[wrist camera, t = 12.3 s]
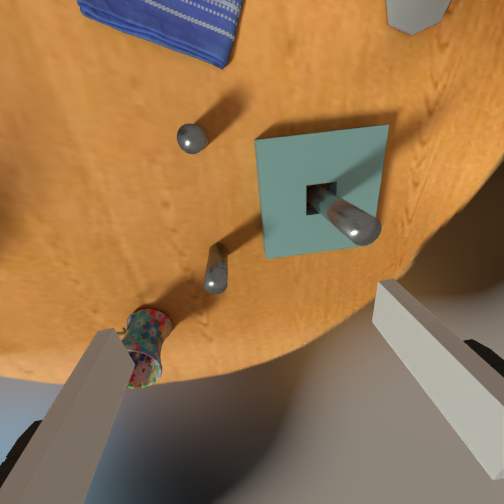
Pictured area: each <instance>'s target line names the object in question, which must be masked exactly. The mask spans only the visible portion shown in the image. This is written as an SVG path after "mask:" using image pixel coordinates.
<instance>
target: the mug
mask: <svg viewBox="0 0 504 504" xmlns="http://www.w3.org/2000/svg"><path fill="white" fill-rule="evenodd" d="M126 326H127V331H126V329H125V328H122V331H123V332H116V333H117V334H118V336H119V335H124V334H125V333H126V334H125V336H124V338H123V339H122V343H123V345H124V346H125V348H126V350H127V352H128V353H129V355H130V357H131V358H132V360H133V362H134V364H135V367H134V369H133V372H132V375H131V377H130V380H129V383H128V385H127V388H143V387H147V386H150V385H152V384H154V383H155V382H156V381H157V380H158V379H159V378H160V376H161V374H162V365H161V359H160V353H161V347H162V344H163V342H164V340H165V339H166V338H167V337H168V336H169V335H170V333H171V331H172V324H171V321H170V319H169V318H168V317H167V316H166V315H165V314H164V313H162V312H160V311H157V310H154V309H141V310H138V311H136V312H134V313H132V314H131V315H130V316H129V318H128V319H127V323H126Z"/></svg>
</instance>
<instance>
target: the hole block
mask: <svg viewBox="0 0 504 504" xmlns="http://www.w3.org/2000/svg"><path fill="white" fill-rule="evenodd" d="M388 130H389V125H376V126H367V127H358V128H350V129H341V130H333V131H324V132H315V133H307V134H298V135H290V136H281V137H272V138H264V139H255V140H254V142H255V153H256V165H257V176H258V187H259V199H260V210H261V221H262V233H263V244H264V252H265V256H266V259H270V258H278V257H285V256H293V255H300V254H308V253H315V252H323V251H330V250H338V249H345V248H353V247H360V246H359V245H356V244H354V243H353V242H352V241H351V240H350V239H349V238H348V237H346V236H345V235H344V234H343V233H342V232H341V231H340V230H338V229H337V228H336V227H335V226H334V225H333V224H332V223H330V222H329V221H328V220H327V219H326V218H325V217H324V216H322V215H321V214H320V213H319V212H318V211H317V210H316V209H314V208H313V209H306V185H314V184H322V183H329V191H330V192H332V193H333V194H335V195H337V196H339V197H340V198H342V199H344V200H346V201H347V202H349V203H351V204H353V205H354V206H356V207H358V208H360V209H361V210H363V211H365V212H367V213H368V214H370V215H372V216H374V217H375V218H376V212H377V205H378V198H379V191H380V185H381V178H382V171H383V164H384V157H385V150H386V144H387V137H388ZM368 245H372V243H371V244H368ZM368 245H365V246H368Z"/></svg>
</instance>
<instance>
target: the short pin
mask: <svg viewBox="0 0 504 504" xmlns="http://www.w3.org/2000/svg"><path fill="white" fill-rule="evenodd" d="M177 141H178V144H179V146H180V148H181V149H182V150H183V151H185V152H186V153H189V154H196V153H198V152H200V151H201V150H203V149H204V148H206V146H207V145H208V141H209V138H208V134H207V132H206V130H205V129H204V128H202V127H201V126H198V125H194V124H185V125H183V126H181V127H180V129H179V130H178V133H177Z"/></svg>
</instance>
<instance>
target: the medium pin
mask: <svg viewBox="0 0 504 504" xmlns="http://www.w3.org/2000/svg"><path fill="white" fill-rule="evenodd" d="M227 275H228V250H227V248H226V247H225V246H224V245H223V244H214V245H212V246H211V248H210V250H209V256H208V262H207V268H206V274H205V280H204V287H205V289H206V290H207V291H208V292H209V293H212V294H219V293H222V292H224V291H225V290H226V288H227Z"/></svg>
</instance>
